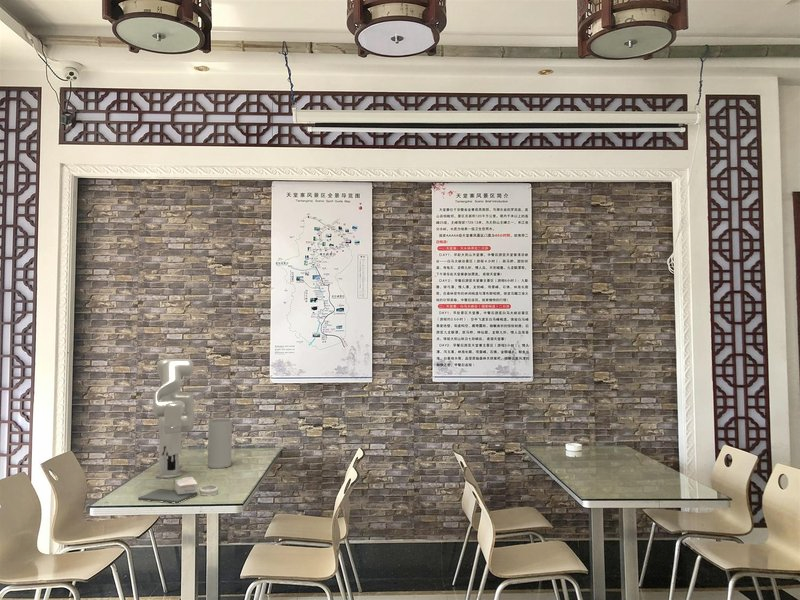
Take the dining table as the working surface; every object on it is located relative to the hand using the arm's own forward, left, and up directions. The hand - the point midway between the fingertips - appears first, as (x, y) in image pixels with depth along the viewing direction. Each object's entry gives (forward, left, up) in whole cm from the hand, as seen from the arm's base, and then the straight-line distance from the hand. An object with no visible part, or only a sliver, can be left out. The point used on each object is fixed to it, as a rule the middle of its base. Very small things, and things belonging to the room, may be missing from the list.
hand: (171, 469), depth 281 cm
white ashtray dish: (-6, +16, -11) cm, 20 cm away
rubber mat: (+5, +2, -11) cm, 12 cm away
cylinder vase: (-56, -8, -11) cm, 58 cm away
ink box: (-7, +2, -8) cm, 11 cm away
